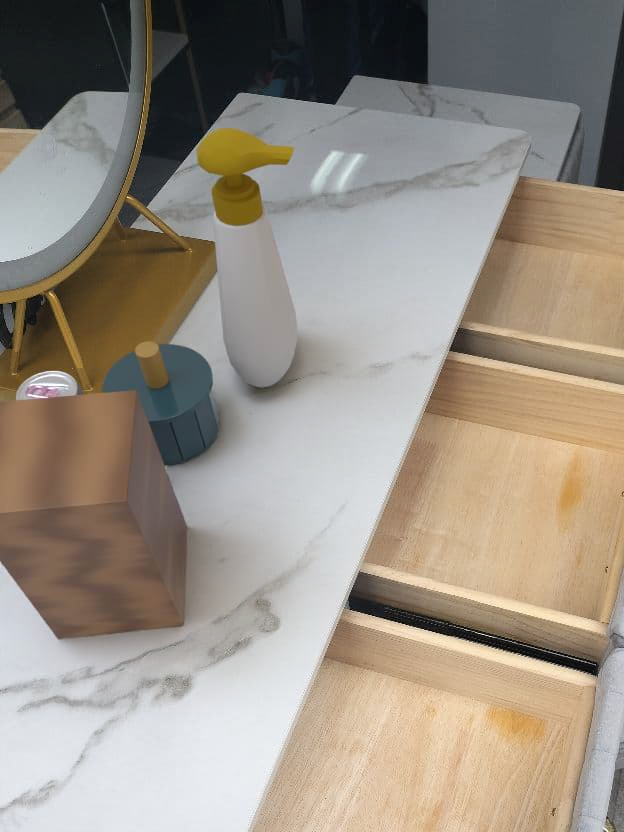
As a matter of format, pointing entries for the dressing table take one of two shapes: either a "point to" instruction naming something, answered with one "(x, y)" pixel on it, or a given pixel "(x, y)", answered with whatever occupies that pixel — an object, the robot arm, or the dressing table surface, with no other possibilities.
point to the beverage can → (48, 386)
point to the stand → (90, 515)
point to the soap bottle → (249, 258)
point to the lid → (162, 380)
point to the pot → (188, 433)
